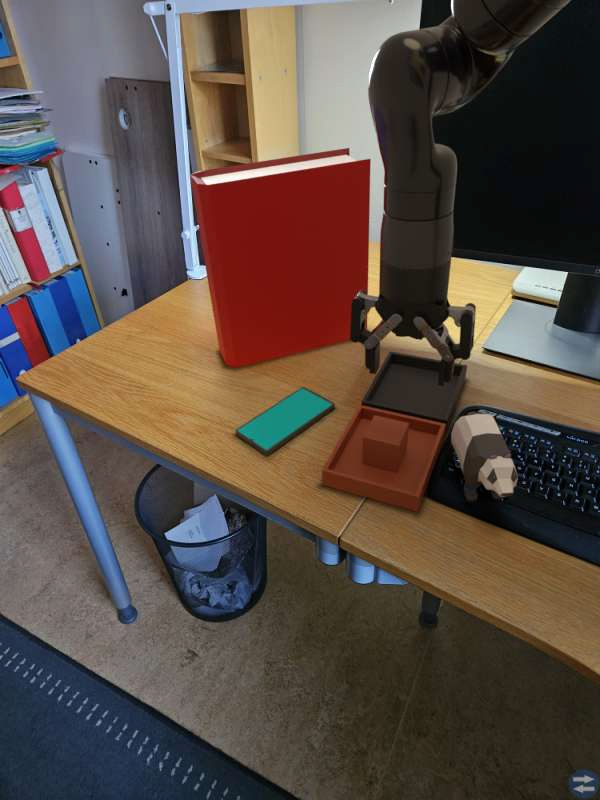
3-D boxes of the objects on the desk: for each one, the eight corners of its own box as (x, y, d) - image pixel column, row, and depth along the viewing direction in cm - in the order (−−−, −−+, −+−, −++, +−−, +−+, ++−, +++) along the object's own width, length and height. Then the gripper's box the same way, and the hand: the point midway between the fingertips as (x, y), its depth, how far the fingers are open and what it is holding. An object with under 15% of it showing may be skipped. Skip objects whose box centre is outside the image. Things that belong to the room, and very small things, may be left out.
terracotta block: (407, 449, 80) (409, 422, 77) (397, 473, 76) (399, 445, 73) (373, 441, 81) (374, 414, 78) (362, 464, 78) (362, 437, 75)
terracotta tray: (444, 438, 82) (446, 423, 81) (417, 512, 72) (419, 497, 70) (359, 418, 87) (359, 404, 85) (322, 485, 76) (321, 470, 74)
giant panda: (446, 452, 80) (453, 399, 74) (484, 449, 80) (495, 396, 74) (476, 533, 68) (487, 478, 62) (521, 530, 68) (537, 475, 62)
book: (349, 316, 113) (349, 147, 93) (366, 335, 107) (370, 158, 87) (218, 347, 106) (188, 172, 87) (228, 369, 100) (199, 186, 80)
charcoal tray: (465, 379, 94) (467, 365, 92) (445, 434, 83) (447, 420, 81) (389, 364, 98) (389, 351, 97) (360, 415, 88) (361, 401, 86)
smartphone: (335, 403, 89) (266, 452, 81) (335, 407, 89) (267, 456, 81) (302, 386, 93) (233, 430, 85) (302, 390, 94) (234, 434, 85)
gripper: (340, 259, 59) (343, 383, 69) (478, 273, 54) (461, 404, 64) (362, 233, 65) (362, 352, 74) (489, 244, 60) (471, 369, 69)
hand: (408, 376), depth 69 cm, fingers open, 8 cm apart
